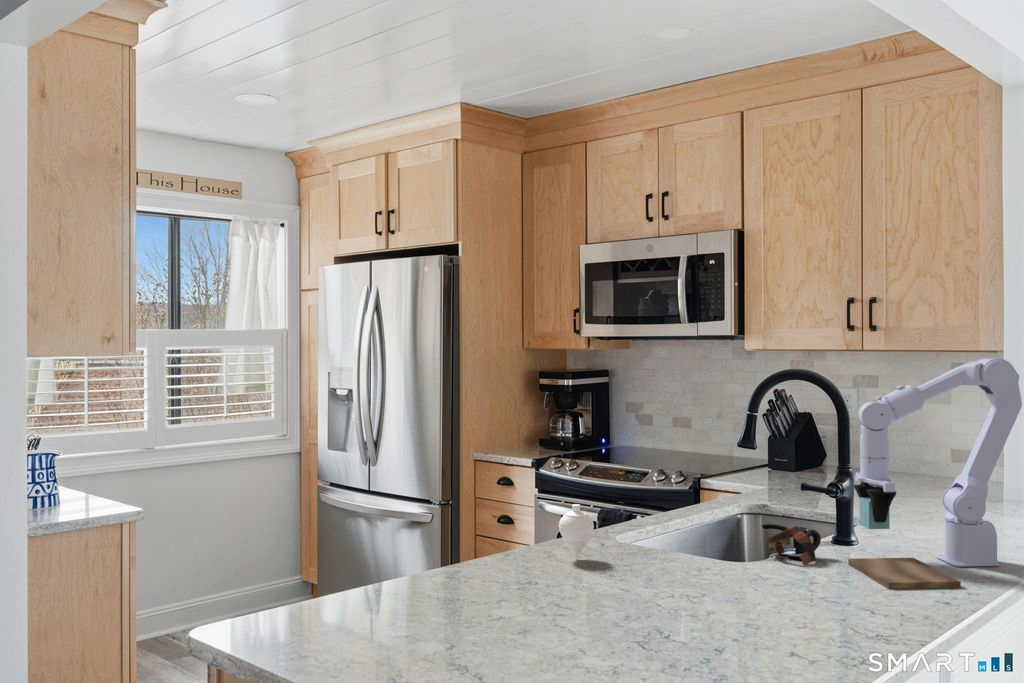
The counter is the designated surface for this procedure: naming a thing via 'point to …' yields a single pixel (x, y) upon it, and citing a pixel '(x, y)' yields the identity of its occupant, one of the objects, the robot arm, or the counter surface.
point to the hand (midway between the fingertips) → (874, 519)
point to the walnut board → (903, 573)
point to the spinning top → (576, 529)
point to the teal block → (870, 515)
